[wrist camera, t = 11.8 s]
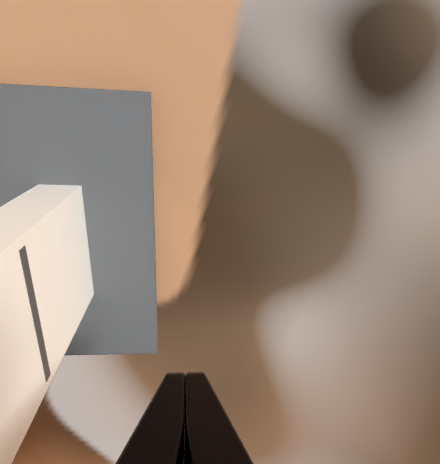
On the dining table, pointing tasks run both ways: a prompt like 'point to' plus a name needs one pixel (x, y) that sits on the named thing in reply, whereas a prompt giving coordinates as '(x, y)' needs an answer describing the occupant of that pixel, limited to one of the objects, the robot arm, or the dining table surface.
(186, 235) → the dining table surface
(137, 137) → the mat
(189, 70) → the dining table surface
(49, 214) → the domino
